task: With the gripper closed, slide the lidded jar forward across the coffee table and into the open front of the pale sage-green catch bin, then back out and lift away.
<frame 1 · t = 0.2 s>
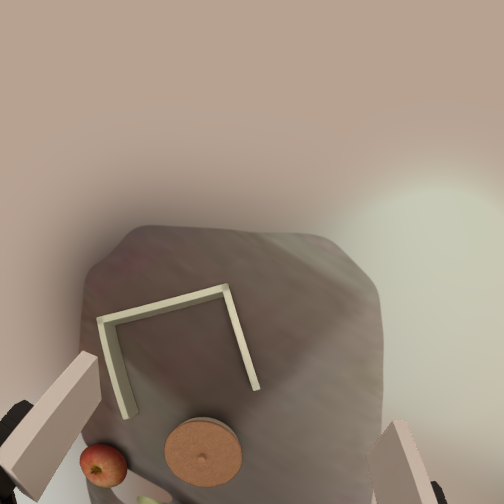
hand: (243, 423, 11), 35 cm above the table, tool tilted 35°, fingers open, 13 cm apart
apple: (111, 459, 37), on the table
lidded jar: (207, 439, 40), on the table
catch bin: (178, 354, 44), on the table
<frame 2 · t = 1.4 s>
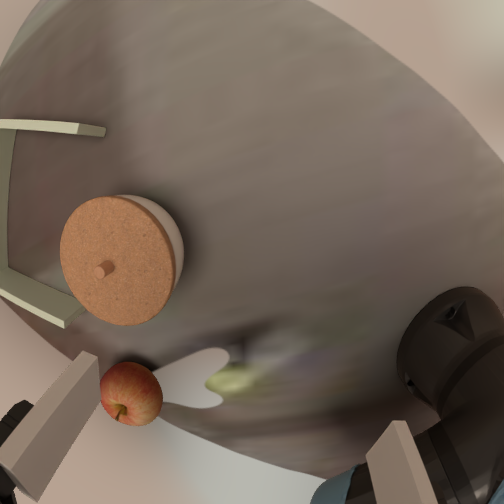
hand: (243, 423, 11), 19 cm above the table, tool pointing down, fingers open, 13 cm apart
apple: (141, 376, 34), on the table
lidded jar: (147, 241, 29), on the table
catch bin: (40, 210, 29), on the table
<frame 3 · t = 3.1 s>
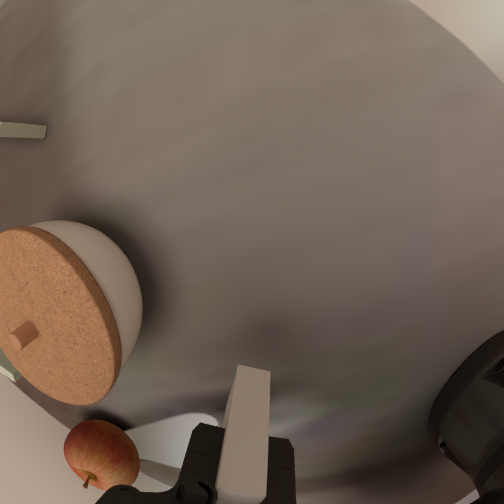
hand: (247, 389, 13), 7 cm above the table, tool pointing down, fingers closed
apple: (115, 432, 25), on the table
lidded jar: (100, 279, 20), on the table
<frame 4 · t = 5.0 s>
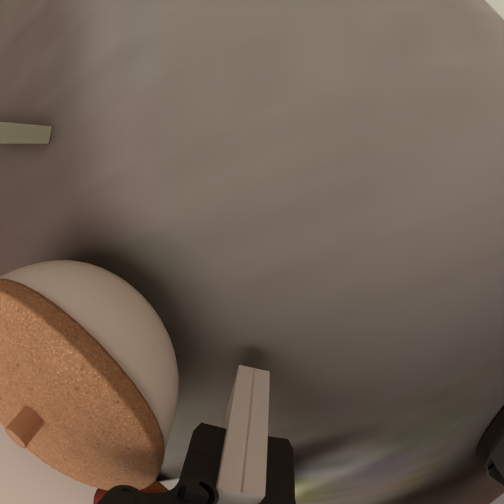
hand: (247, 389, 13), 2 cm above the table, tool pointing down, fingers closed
apple: (149, 481, 20), on the table
lidded jar: (114, 325, 16), on the table, touching gripper
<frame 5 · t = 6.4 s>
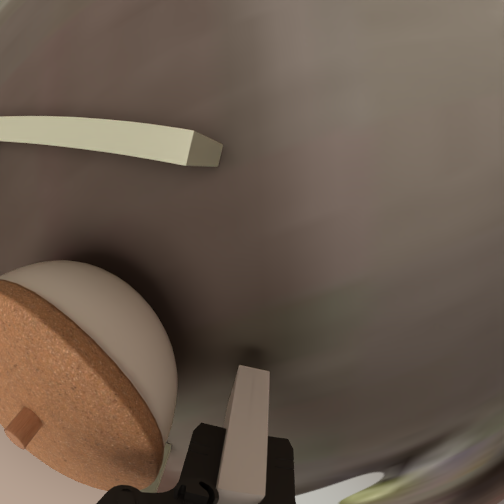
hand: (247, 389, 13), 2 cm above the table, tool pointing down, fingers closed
lidded jar: (113, 325, 15), on the table, touching gripper
catch bin: (62, 305, 15), on the table
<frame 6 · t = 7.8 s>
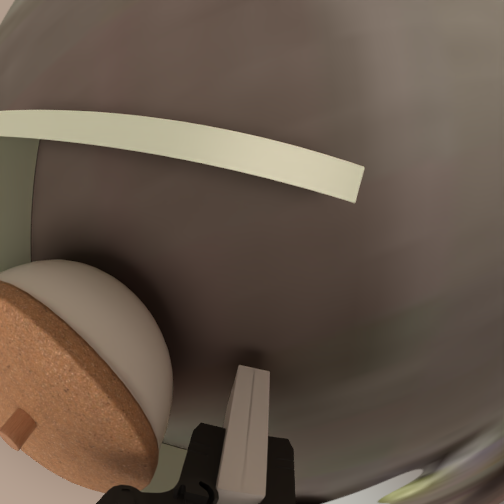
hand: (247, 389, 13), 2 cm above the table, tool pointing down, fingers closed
lidded jar: (108, 325, 15), on the table, touching gripper
catch bin: (123, 329, 15), on the table
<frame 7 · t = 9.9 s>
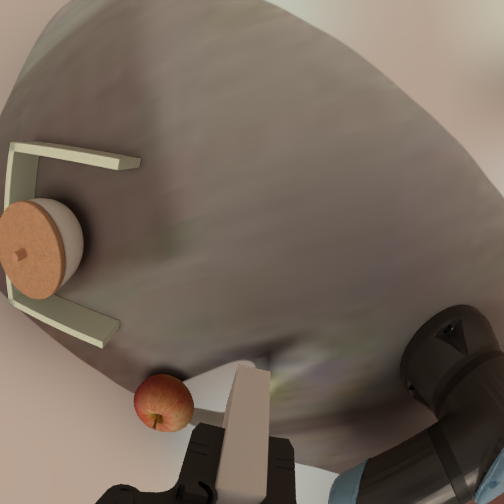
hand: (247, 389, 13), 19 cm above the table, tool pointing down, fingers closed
apple: (171, 385, 38), on the table
lidded jar: (65, 233, 32), on the table
catch bin: (70, 234, 31), on the table
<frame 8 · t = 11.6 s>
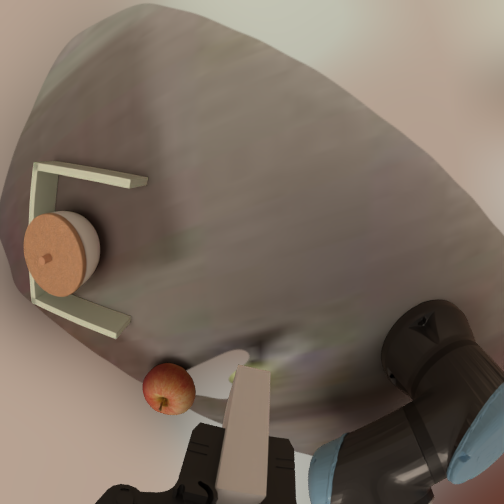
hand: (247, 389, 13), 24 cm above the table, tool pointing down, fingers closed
apple: (176, 374, 43), on the table
lidded jar: (83, 241, 38), on the table
catch bin: (88, 241, 38), on the table
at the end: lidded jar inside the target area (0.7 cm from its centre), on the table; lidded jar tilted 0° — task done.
